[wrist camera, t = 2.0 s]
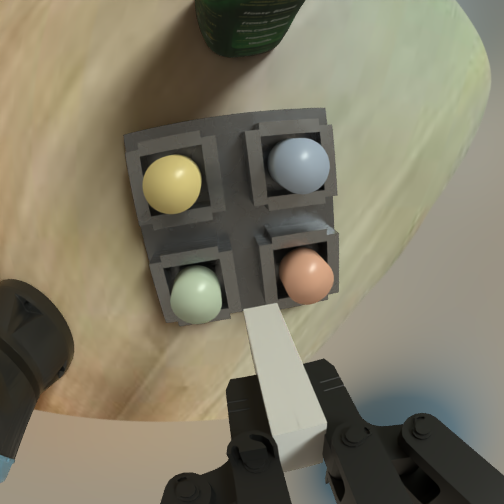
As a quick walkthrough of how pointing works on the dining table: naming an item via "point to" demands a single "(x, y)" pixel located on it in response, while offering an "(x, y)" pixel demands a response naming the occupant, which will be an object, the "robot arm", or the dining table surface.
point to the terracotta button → (305, 275)
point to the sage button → (196, 295)
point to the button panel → (235, 206)
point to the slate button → (299, 165)
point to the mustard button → (172, 184)
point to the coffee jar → (245, 24)
